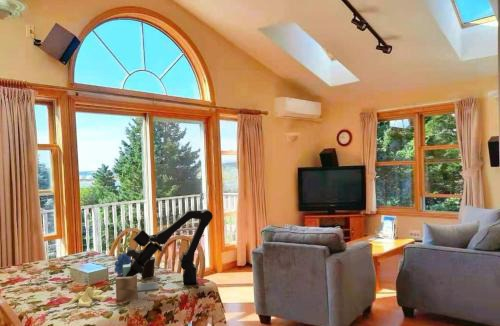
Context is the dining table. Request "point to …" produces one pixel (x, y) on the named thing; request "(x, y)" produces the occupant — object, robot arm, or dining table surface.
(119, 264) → the grapes
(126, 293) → the walnut screen
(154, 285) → the slate coaster
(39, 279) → the dining table surface
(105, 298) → the cloth
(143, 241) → the robot arm
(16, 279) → the dining table surface
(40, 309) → the dining table surface
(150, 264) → the coffee mug
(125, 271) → the letter block
